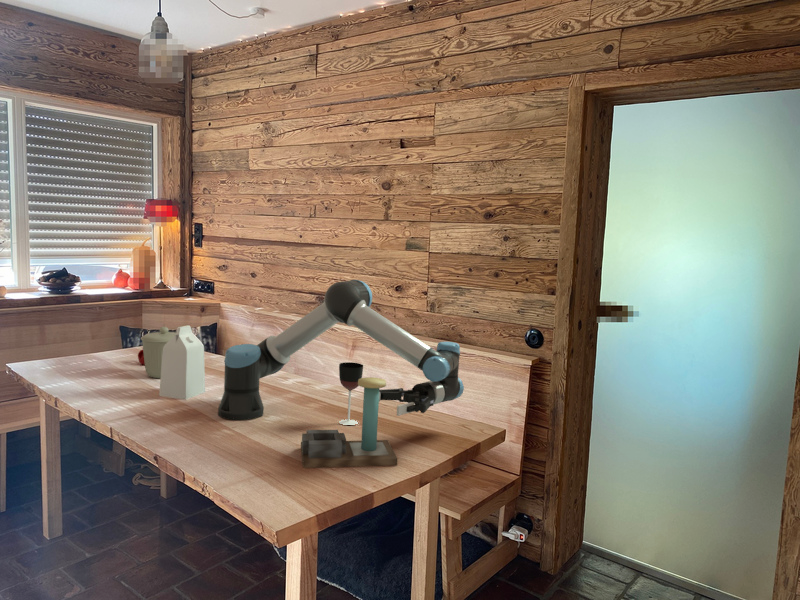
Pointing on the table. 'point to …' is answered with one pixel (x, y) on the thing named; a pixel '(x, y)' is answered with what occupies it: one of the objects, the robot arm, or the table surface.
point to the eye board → (352, 459)
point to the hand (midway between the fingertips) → (380, 405)
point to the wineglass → (350, 383)
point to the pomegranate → (141, 357)
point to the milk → (182, 366)
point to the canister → (155, 350)
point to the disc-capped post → (370, 411)
